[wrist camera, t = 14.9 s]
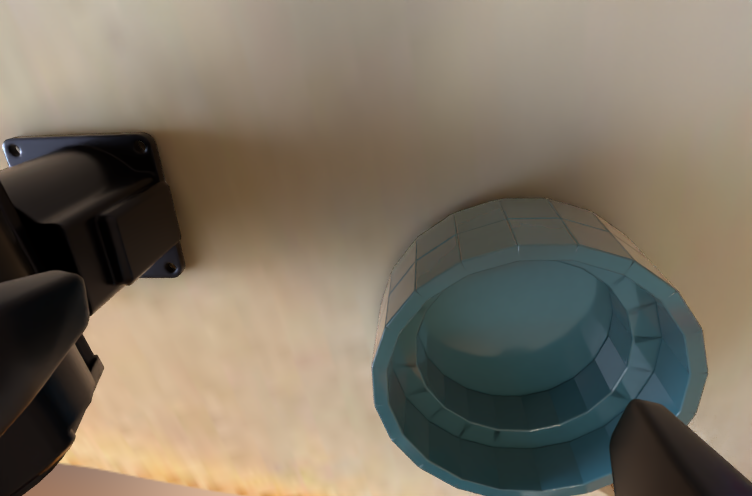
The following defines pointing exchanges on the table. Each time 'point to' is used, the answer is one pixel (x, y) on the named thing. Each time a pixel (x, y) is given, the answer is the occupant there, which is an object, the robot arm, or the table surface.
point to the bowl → (528, 348)
